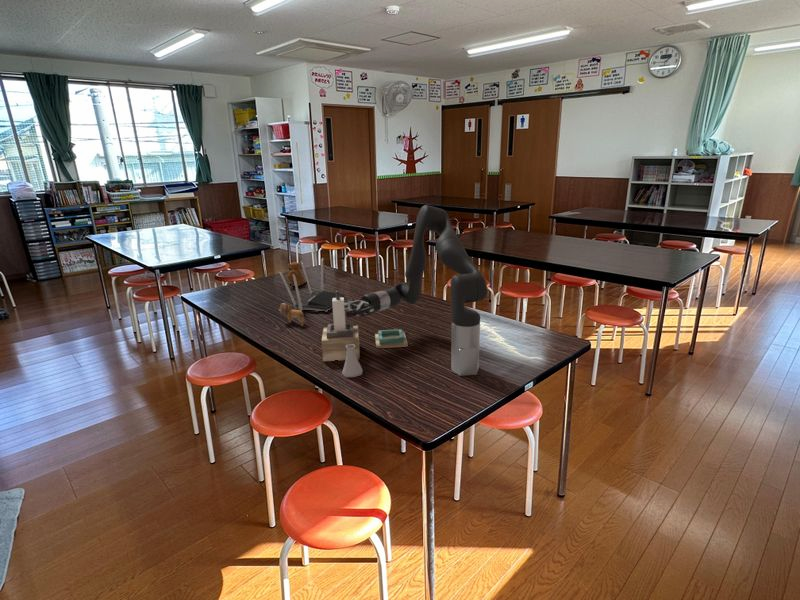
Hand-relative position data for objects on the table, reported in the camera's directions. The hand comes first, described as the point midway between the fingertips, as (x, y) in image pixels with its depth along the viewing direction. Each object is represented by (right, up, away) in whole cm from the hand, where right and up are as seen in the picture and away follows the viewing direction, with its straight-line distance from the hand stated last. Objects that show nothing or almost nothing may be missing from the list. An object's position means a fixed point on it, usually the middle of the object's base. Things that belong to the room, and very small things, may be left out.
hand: (340, 311), depth 163 cm
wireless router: (-20, +2, +60) cm, 64 cm away
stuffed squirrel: (-38, +13, +95) cm, 102 cm away
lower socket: (+18, -12, +14) cm, 26 cm away
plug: (0, -8, +2) cm, 8 cm away
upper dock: (0, -15, +5) cm, 16 cm away
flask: (+6, -21, -11) cm, 24 cm away
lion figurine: (-25, -6, +35) cm, 44 cm away
